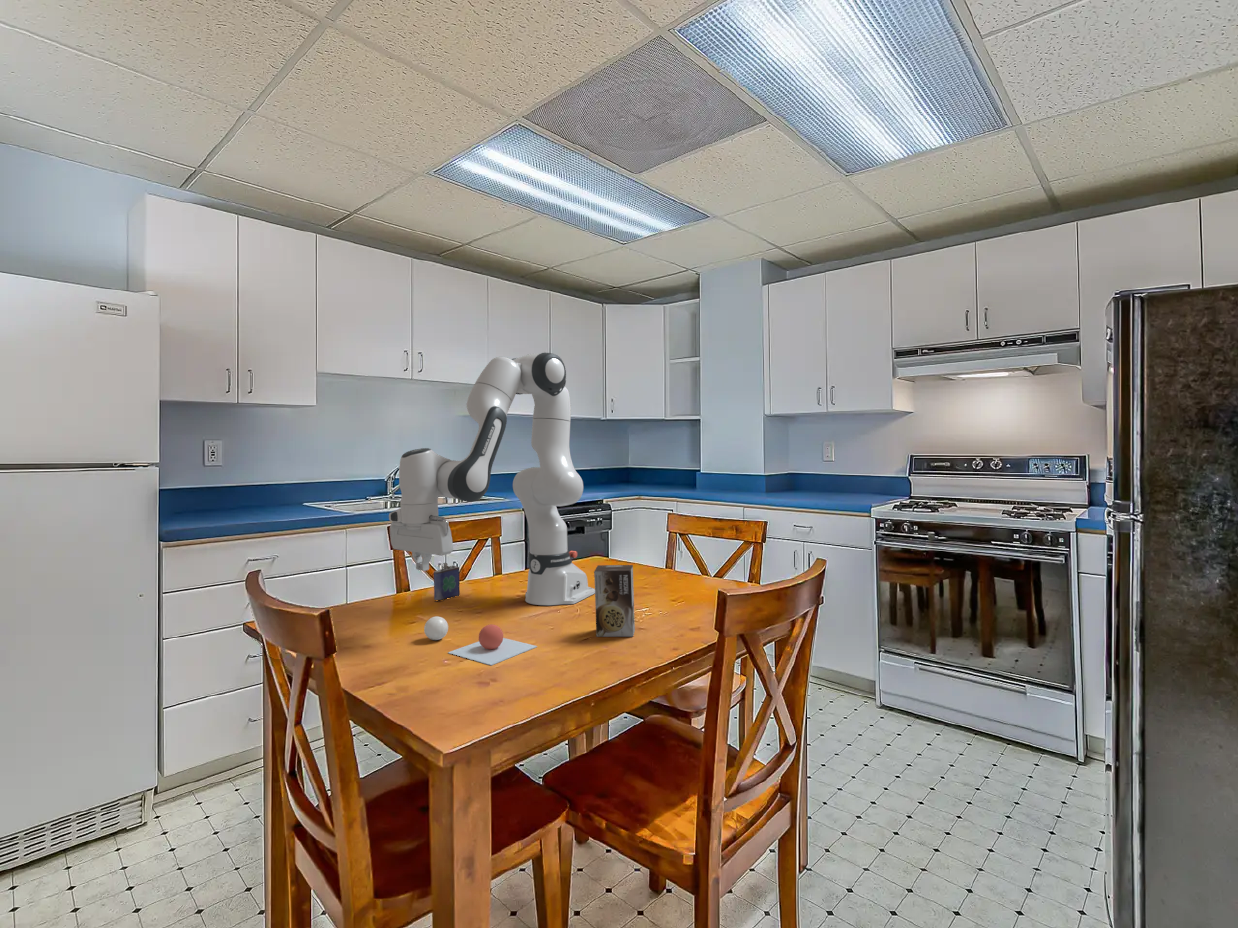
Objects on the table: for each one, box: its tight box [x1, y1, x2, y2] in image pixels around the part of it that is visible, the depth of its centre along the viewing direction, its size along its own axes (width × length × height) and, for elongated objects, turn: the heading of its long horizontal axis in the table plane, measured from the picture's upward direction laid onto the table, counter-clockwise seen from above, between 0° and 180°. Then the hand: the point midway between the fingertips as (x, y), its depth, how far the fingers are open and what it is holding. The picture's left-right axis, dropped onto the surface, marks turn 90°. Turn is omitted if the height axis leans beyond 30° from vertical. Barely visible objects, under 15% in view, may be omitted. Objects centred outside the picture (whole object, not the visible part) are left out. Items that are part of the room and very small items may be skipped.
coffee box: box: [593, 564, 636, 638], centre depth 153 cm, size 9×6×16 cm
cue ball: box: [423, 616, 449, 641], centre depth 150 cm, size 6×6×6 cm
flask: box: [433, 562, 461, 601], centre depth 190 cm, size 9×3×11 cm, turn 146°
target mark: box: [447, 637, 538, 666], centre depth 142 cm, size 14×14×1 cm
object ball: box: [478, 624, 504, 650], centre depth 143 cm, size 6×6×6 cm
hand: (422, 569), depth 157 cm, fingers closed
